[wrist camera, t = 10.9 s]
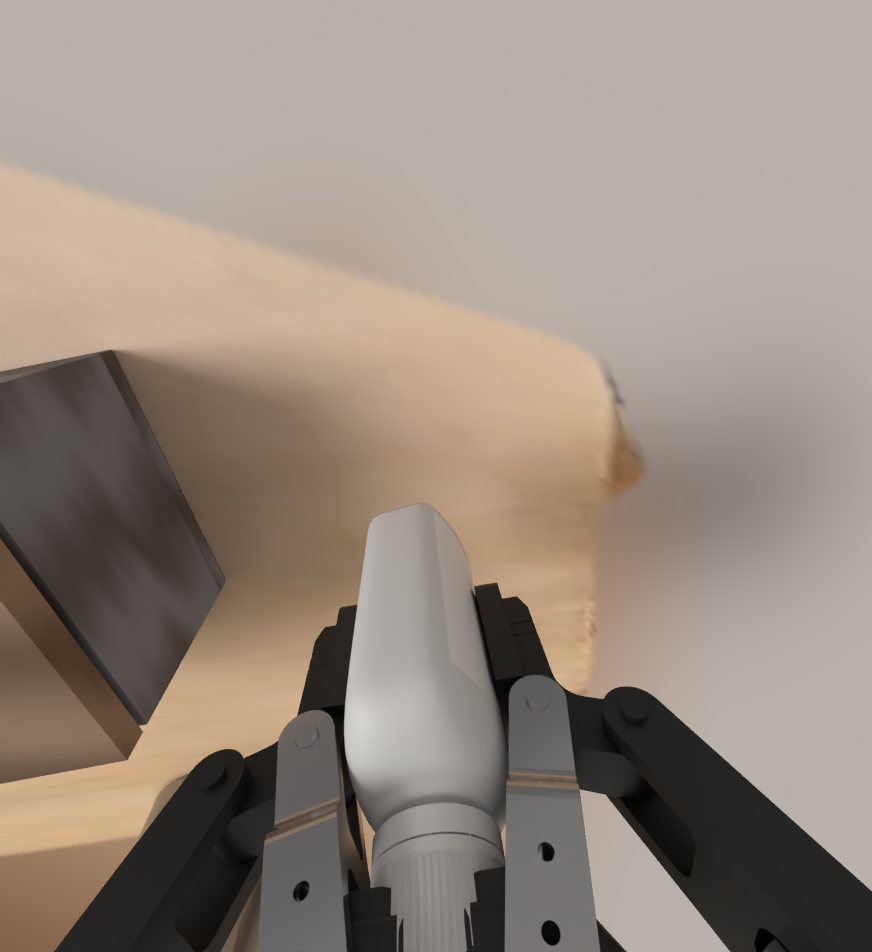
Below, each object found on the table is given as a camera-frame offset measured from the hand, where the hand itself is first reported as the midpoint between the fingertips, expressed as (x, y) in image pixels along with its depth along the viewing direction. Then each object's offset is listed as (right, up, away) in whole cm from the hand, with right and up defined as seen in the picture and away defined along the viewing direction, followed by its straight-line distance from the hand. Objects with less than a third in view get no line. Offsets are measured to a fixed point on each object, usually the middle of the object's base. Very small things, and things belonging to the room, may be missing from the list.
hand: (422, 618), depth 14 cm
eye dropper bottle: (0, +1, +3) cm, 3 cm away
